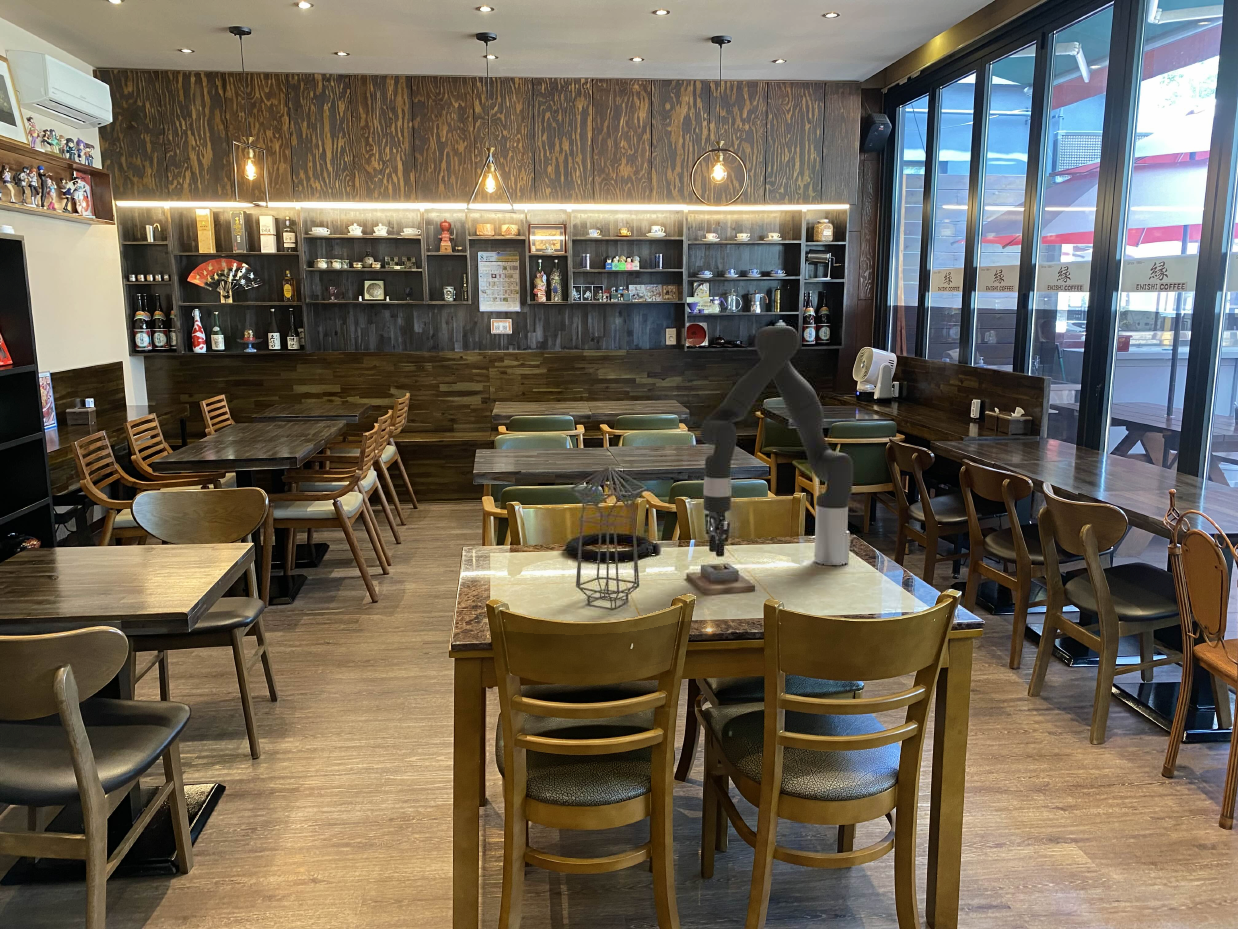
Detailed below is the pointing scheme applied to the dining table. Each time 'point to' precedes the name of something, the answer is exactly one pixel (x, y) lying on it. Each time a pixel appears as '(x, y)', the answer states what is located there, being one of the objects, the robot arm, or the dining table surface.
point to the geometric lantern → (592, 495)
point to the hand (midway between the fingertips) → (716, 553)
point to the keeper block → (720, 584)
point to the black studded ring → (643, 550)
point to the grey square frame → (719, 573)
